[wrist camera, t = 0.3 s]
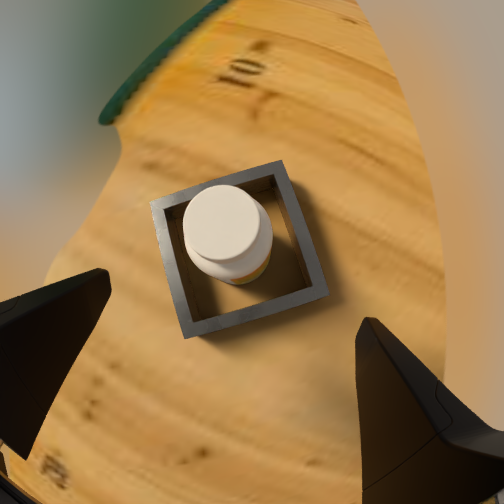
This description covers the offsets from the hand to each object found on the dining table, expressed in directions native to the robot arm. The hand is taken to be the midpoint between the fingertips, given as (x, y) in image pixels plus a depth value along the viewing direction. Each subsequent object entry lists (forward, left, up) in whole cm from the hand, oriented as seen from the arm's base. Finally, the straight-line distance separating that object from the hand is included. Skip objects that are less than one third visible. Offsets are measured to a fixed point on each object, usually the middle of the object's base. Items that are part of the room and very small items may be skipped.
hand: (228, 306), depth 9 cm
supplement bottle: (+4, 0, -14) cm, 15 cm away
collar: (+4, 0, -14) cm, 15 cm away
